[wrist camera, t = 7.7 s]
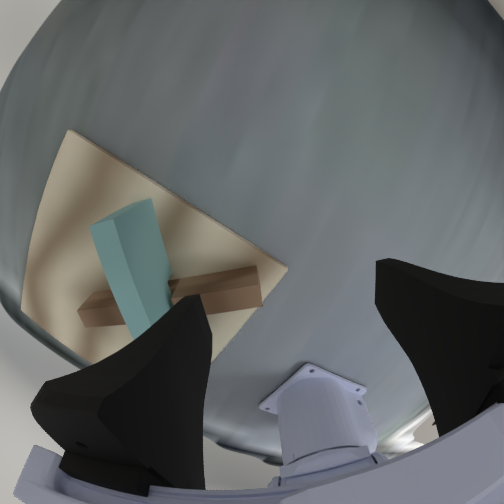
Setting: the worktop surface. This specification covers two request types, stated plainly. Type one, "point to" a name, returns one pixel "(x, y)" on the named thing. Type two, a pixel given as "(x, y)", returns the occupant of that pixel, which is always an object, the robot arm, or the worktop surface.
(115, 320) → the brown notched bar
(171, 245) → the ash board
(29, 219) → the worktop surface
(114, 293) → the teal bar
